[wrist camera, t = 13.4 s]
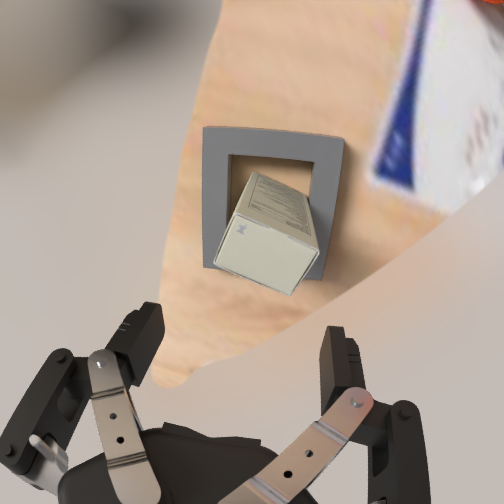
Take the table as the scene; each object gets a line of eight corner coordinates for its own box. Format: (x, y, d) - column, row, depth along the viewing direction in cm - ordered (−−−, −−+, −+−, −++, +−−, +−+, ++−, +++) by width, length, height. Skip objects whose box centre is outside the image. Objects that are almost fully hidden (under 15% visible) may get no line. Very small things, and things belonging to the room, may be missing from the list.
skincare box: (236, 205, 31) (206, 263, 20) (253, 169, 29) (230, 209, 18) (291, 231, 32) (290, 300, 21) (310, 196, 30) (322, 252, 19)
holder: (341, 137, 26) (344, 139, 25) (320, 270, 33) (321, 280, 32) (208, 126, 27) (202, 127, 26) (207, 258, 34) (203, 267, 33)
